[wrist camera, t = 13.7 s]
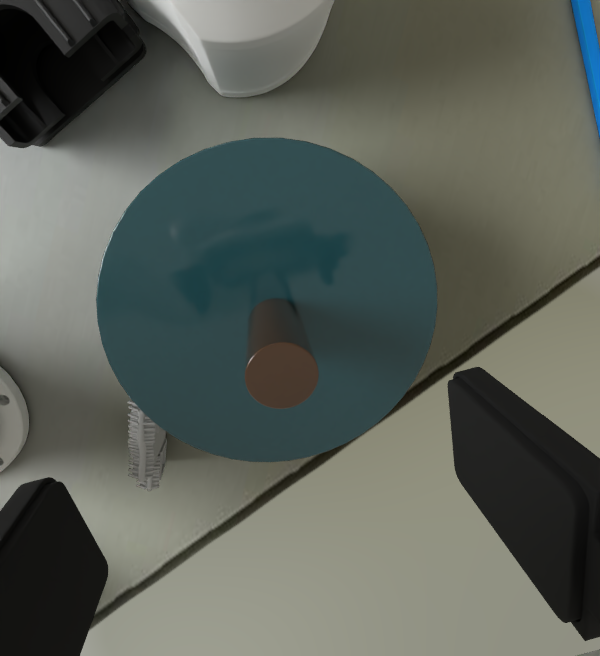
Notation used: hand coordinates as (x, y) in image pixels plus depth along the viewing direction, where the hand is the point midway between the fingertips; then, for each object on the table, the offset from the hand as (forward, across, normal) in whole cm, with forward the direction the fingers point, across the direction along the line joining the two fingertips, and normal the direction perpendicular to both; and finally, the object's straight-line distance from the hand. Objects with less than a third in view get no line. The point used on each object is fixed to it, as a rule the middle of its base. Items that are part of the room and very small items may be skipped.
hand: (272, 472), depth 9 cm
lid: (+11, -1, 0) cm, 11 cm away
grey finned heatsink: (+21, +10, +8) cm, 24 cm away
